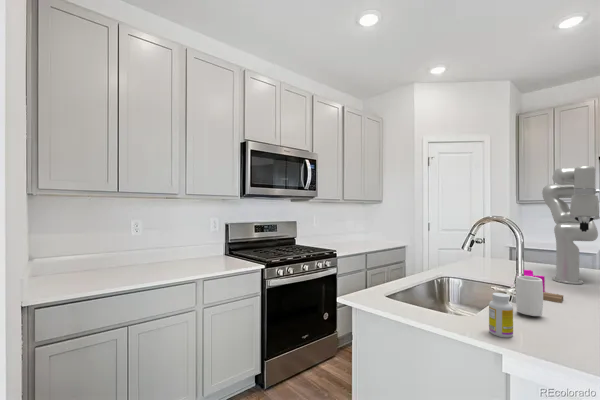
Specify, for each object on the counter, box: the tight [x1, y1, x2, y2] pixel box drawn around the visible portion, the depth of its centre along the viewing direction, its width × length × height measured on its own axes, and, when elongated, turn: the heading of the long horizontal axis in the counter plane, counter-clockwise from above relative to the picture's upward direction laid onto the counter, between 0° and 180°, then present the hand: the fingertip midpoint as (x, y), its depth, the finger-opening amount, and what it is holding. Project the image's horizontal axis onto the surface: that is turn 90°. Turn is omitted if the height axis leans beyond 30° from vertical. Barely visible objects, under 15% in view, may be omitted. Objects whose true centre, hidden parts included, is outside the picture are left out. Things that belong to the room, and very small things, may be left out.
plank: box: [543, 291, 564, 304], centre depth 144 cm, size 7×18×2 cm, turn 44°
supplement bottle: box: [488, 292, 514, 339], centre depth 104 cm, size 7×7×13 cm
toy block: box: [523, 269, 546, 292], centre depth 159 cm, size 15×6×8 cm, turn 165°
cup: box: [515, 275, 544, 317], centre depth 120 cm, size 8×8×14 cm
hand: (584, 231), depth 149 cm, fingers closed
